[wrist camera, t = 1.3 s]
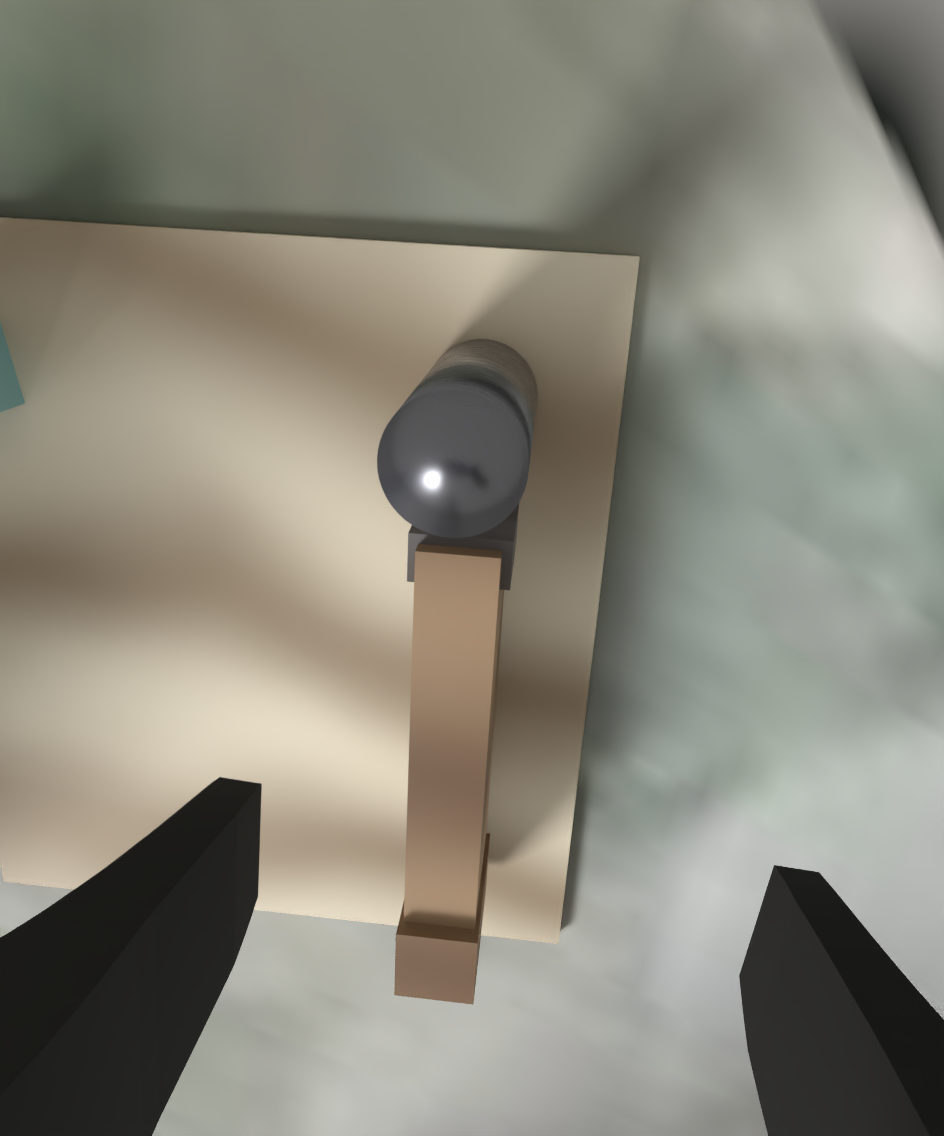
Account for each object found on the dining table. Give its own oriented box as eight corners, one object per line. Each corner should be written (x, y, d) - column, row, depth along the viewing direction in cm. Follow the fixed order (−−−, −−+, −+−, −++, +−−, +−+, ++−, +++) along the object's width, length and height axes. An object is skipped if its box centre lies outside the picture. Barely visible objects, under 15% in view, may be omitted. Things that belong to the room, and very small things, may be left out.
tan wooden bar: (429, 488, 20) (401, 548, 16) (520, 495, 19) (511, 557, 16) (414, 880, 24) (389, 994, 20) (489, 889, 24) (477, 1004, 20)
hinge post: (533, 449, 20) (522, 543, 14) (427, 441, 20) (376, 531, 15) (542, 339, 19) (534, 395, 14) (431, 332, 19) (377, 384, 14)
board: (558, 932, 25) (558, 943, 25) (11, 871, 26) (3, 881, 26) (638, 255, 18) (640, 256, 18) (-108, 210, 19) (-122, 210, 19)
